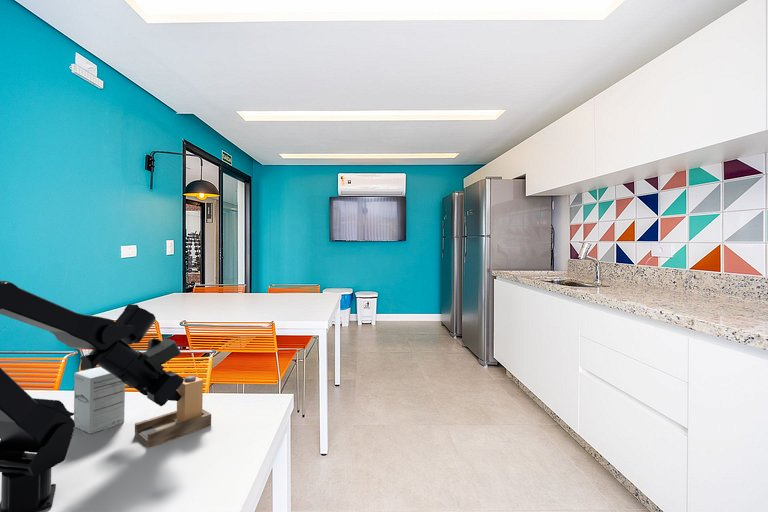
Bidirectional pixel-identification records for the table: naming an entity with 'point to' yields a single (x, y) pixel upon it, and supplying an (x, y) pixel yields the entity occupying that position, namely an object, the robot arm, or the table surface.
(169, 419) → the box
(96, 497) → the table surface
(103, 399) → the supplement box
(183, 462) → the table surface
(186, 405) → the block
